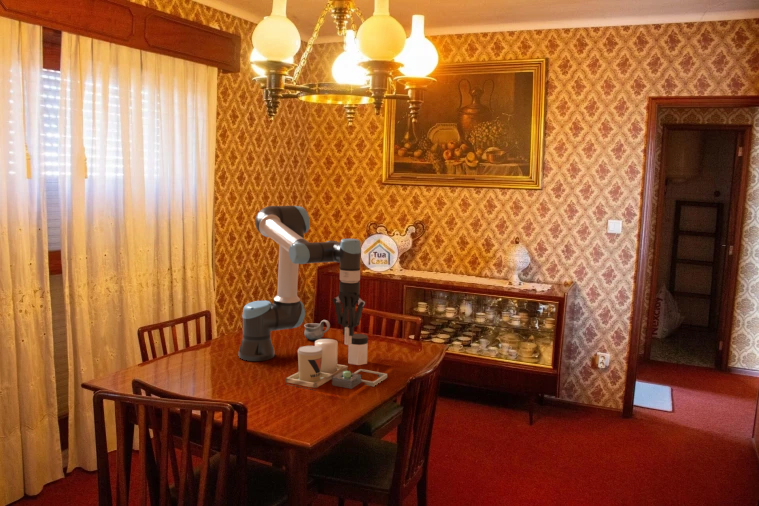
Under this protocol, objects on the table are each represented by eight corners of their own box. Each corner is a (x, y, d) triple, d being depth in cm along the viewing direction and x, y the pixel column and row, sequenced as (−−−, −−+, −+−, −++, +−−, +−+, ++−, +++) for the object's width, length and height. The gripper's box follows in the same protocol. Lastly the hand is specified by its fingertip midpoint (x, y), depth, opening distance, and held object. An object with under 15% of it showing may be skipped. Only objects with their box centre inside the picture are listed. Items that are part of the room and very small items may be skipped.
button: (341, 382, 226) (341, 372, 225) (345, 380, 228) (345, 370, 228) (348, 384, 224) (348, 373, 224) (352, 381, 227) (352, 371, 227)
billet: (309, 372, 238) (310, 342, 236) (321, 366, 246) (322, 337, 244) (329, 376, 234) (330, 346, 233) (341, 370, 242) (341, 340, 241)
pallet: (285, 384, 226) (285, 378, 226) (319, 366, 249) (319, 360, 248) (315, 390, 221) (315, 384, 220) (347, 372, 243) (347, 366, 243)
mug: (306, 336, 296) (307, 316, 294) (332, 338, 294) (332, 317, 293) (301, 341, 286) (302, 320, 285) (327, 343, 284) (328, 322, 283)
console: (332, 387, 225) (332, 377, 224) (342, 381, 232) (342, 371, 231) (351, 391, 221) (351, 380, 221) (360, 385, 229) (361, 374, 228)
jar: (353, 368, 248) (354, 339, 247) (343, 362, 255) (344, 335, 254) (371, 365, 253) (372, 337, 252) (361, 360, 260) (362, 332, 259)
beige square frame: (345, 381, 232) (345, 377, 232) (359, 372, 243) (360, 368, 243) (374, 386, 227) (374, 382, 227) (387, 377, 238) (387, 373, 238)
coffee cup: (311, 385, 223) (312, 353, 221) (291, 380, 228) (292, 349, 226) (326, 379, 231) (327, 348, 229) (307, 374, 236) (308, 344, 234)
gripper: (329, 280, 221) (327, 343, 224) (361, 284, 216) (359, 348, 218) (338, 278, 228) (337, 339, 231) (370, 281, 222) (368, 344, 225)
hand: (347, 343), depth 225 cm, fingers closed
